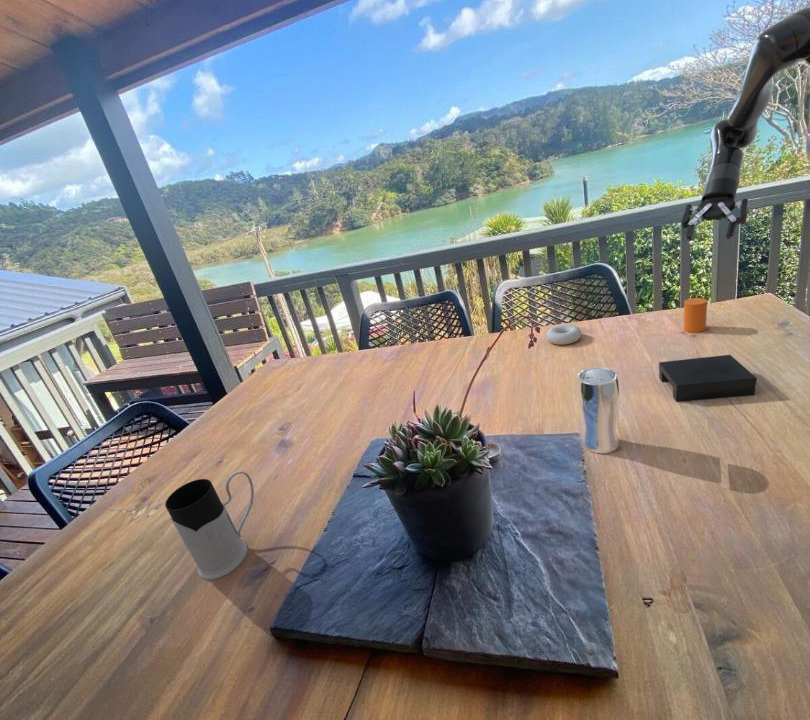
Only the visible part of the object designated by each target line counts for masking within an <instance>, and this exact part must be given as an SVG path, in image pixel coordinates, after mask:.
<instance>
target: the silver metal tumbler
mask: <svg viewBox="0 0 810 720" xmlns="http://www.w3.org/2000/svg"><path fill="white" fill-rule="evenodd" d="M619 384H620V382H619V375H618V372H616V370H613V369H612V368H608V367H603V366H600V367H599V366H598V367H597V366H596V367H589V368H586V369H582V371H579V372H578V374H577V398H578V405H579V410H580V413H581V417H582V420H583V424H584V438H583V445H584V447H585V448H586V449H587V450H588V451H590V452H591V453H595V454H599V455H601V454H603V455H604V454H611V453H613V452H615V451H616V450H617V449H619V445H620V443H619V439H618V434H617V421H618V416H619V411H620V403H621V395H620V385H619Z"/></svg>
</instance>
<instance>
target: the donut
mask: <svg viewBox="0 0 810 720" xmlns="http://www.w3.org/2000/svg"><path fill="white" fill-rule="evenodd" d="M545 338H546V340H547V341H548V343H550V344H553V345H558V346H562V345H563V346H564V345H571V344H573V343H576V342H578V341H579V340H580V339H581V338H582V329H580V327H578V326H576V325H573V324H559V325H556V326H552V327H550V328H549V329H548V330H547V331H546V333H545Z"/></svg>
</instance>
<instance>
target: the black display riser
mask: <svg viewBox="0 0 810 720" xmlns="http://www.w3.org/2000/svg"><path fill="white" fill-rule="evenodd" d="M658 370H659V371H658V378H659V380H660V381H661V382H669V384H670V385H671V386H672V398H673V400H674V401H675V402H676V403H679V402H689V401H699V400H700V401H701V400H713V399H724V398H736V397H745V396H746V397H748V396H755V393H756V385H757V379H758V378H757V377H756V375H754V374H753V373H752V372H751V371H750V370H748V368H746V367H745V366H744V365H743V364H741V362H740V361H738V360H737V359H736V358H735V357H733V356H732V355H731V354H723V355H713V356H706V357H697V358H686V359H677V360H669V361H660V362H658Z"/></svg>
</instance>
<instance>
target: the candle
mask: <svg viewBox="0 0 810 720" xmlns="http://www.w3.org/2000/svg"><path fill="white" fill-rule="evenodd" d="M683 304H684V305H683V306H684V307H683V331H685V332H687V333H695V334H696V333H697V334H698V333H702V332H705V331H706V330H707V314H708V300H707V299H706V298H703V297H692V298H687V299H685V300H684V302H683Z"/></svg>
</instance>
